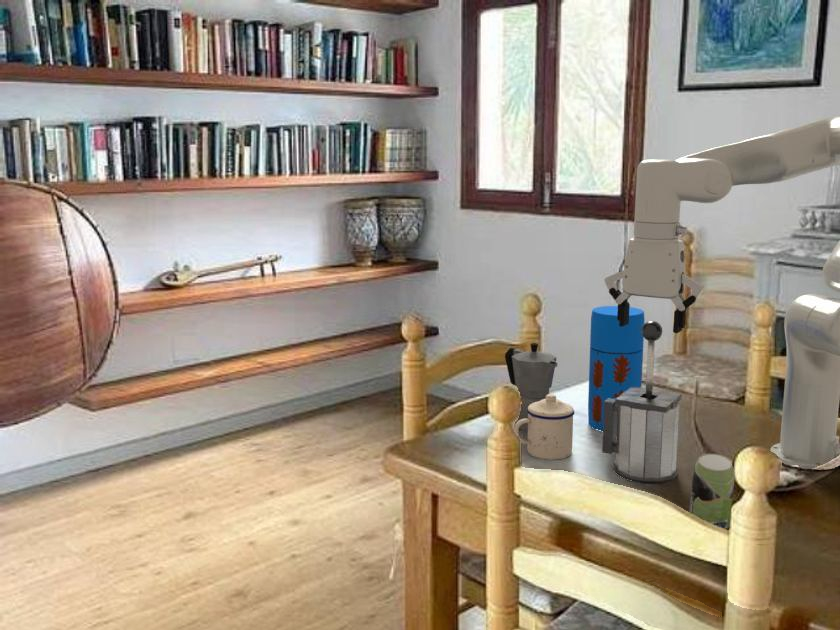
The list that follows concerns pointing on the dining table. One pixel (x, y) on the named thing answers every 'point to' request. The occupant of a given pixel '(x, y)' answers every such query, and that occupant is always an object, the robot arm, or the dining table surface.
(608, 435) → the press pot
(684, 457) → the dining table surface
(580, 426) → the dining table surface
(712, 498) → the beverage can
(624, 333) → the thermos
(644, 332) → the plunger
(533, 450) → the teacup with lid
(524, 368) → the coffeepot
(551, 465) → the dining table surface
